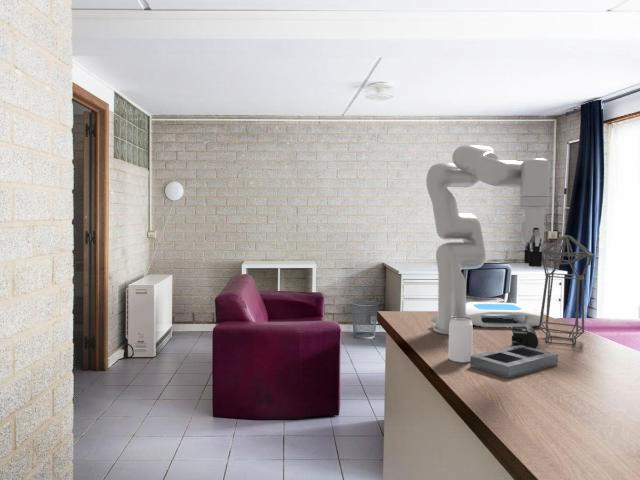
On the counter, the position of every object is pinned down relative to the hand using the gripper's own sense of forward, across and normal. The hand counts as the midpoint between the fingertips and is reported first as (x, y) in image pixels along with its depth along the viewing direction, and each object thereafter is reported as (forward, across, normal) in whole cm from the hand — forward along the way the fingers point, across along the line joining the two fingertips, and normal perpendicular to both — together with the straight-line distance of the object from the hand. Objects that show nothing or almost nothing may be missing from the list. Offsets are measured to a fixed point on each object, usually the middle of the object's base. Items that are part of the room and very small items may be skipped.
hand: (532, 264), depth 143 cm
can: (+28, +4, -19) cm, 34 cm away
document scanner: (+28, -55, -6) cm, 62 cm away
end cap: (+28, -13, 0) cm, 31 cm away
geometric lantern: (+28, -28, +14) cm, 42 cm away
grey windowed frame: (+27, +6, -5) cm, 28 cm away
